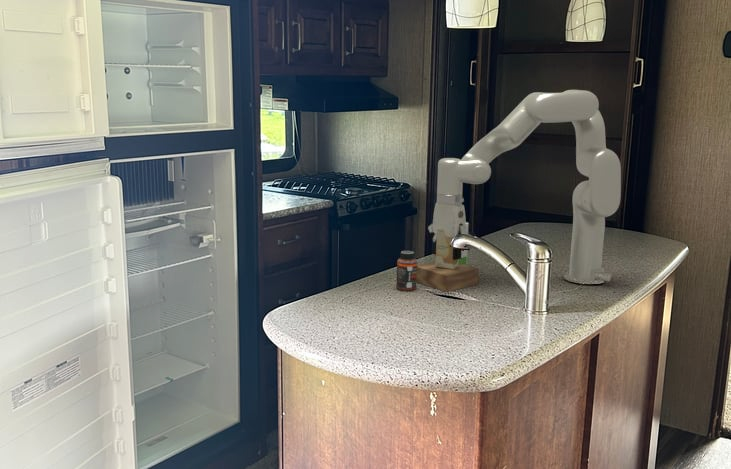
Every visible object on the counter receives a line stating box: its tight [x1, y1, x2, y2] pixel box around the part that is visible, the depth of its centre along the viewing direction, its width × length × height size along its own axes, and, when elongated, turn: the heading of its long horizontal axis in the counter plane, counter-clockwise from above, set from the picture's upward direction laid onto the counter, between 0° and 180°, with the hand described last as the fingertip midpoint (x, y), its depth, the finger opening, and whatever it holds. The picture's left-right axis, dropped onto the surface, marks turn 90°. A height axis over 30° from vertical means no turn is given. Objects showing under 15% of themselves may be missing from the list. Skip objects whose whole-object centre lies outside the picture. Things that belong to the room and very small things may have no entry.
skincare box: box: [434, 228, 459, 269], centre depth 220 cm, size 6×4×12 cm
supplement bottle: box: [395, 250, 418, 292], centre depth 214 cm, size 6×6×11 cm
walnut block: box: [416, 261, 479, 293], centre depth 221 cm, size 14×14×5 cm
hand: (447, 256), depth 220 cm, fingers closed on skincare box, 7 cm apart
